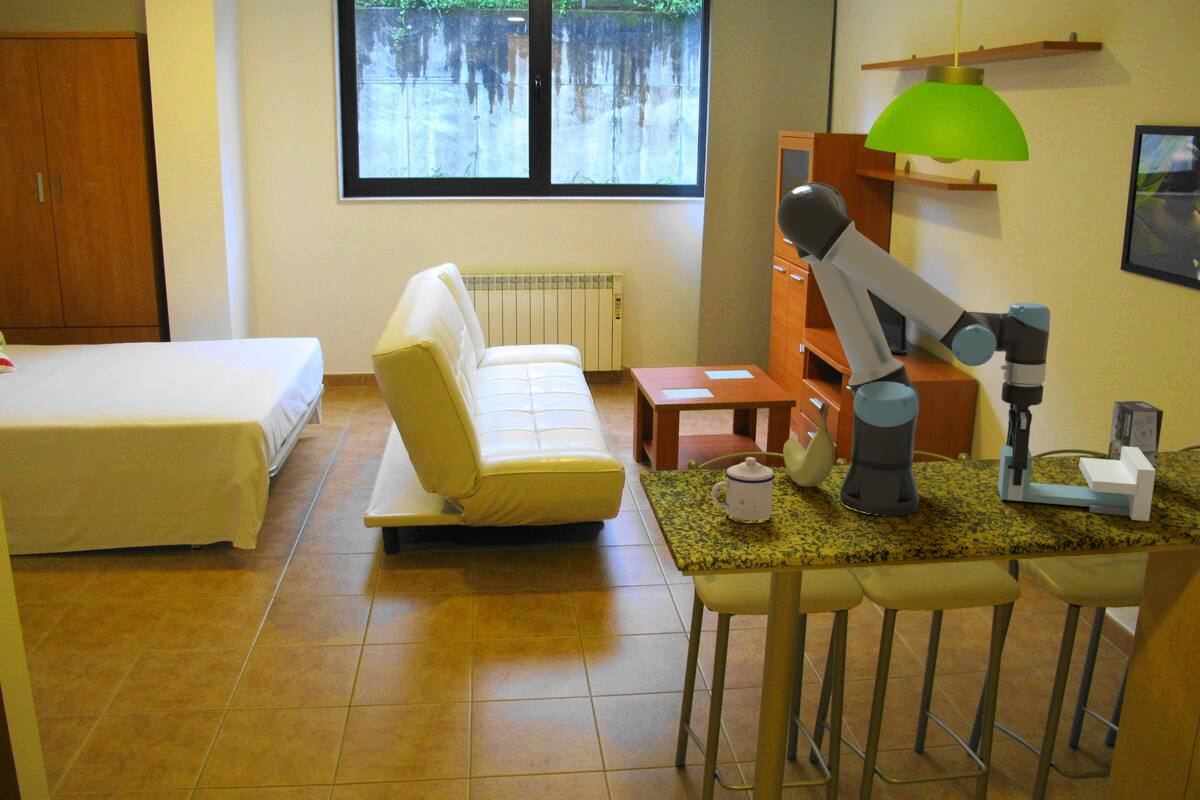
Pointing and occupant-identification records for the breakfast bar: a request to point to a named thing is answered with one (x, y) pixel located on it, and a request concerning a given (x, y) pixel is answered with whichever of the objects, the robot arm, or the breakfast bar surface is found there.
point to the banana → (811, 456)
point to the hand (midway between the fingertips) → (1012, 492)
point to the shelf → (1122, 482)
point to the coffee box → (1135, 429)
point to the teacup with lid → (747, 490)
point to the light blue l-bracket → (1053, 488)
